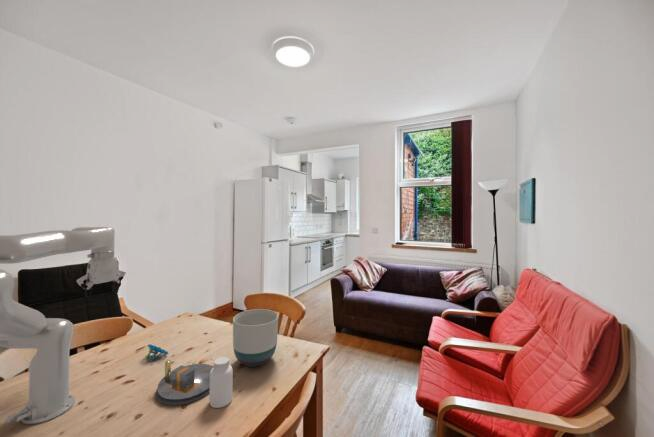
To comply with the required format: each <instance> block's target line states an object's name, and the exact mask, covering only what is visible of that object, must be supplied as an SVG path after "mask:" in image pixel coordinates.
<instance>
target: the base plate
mask: <svg viewBox="0 0 654 437" xmlns="http://www.w3.org/2000/svg"><path fill="white" fill-rule="evenodd" d="M209 391H210V389H209V390H207V391H206V392H204V393H203V394H201V395H198V396H196V397H194V398H191V399H187V400H182V401H167V400H164V399H162V398H161V397H160V396H159V395H158V387H157V388H156V391H155V398H156V400H157V402H158V403H159V404H161V405H164V406H168V407H169V406H170V407H179V406H185V405H189V404H192V403H195V402H197V401H200V400H202V399H203V398H205V397H207V396H208V395H209Z"/></svg>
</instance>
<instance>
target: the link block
mask: <svg viewBox="0 0 654 437" xmlns="http://www.w3.org/2000/svg"><path fill="white" fill-rule="evenodd" d="M186 366H187V365H183V364H182V365H180V366H178V367H176V368H174V369H173V370H171V372H172V386H173V387H175V388H177V389H180V390H183V391H186V390H188V389H189V388H191V387H192V386H194V369H191V368H189V367H186Z"/></svg>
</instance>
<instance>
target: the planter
mask: <svg viewBox="0 0 654 437" xmlns="http://www.w3.org/2000/svg"><path fill="white" fill-rule="evenodd" d="M232 318H233V319H232V344H233V345H232V346H233V353H234V357H235V358H236V360H237V361H238V362H240V364H242V365H244V366H246V367H250V368H251V367H259V366H263V365H264V364H265V363H267V362H269V361H270V359H271V358H273V356H274V355H275V353H276V349H277V346H278V333H279V314H278V312H276V311H274V310H271V309H265V308H255V309H249V310H244V311H241V312H239V313H237V314H236V315H234V316H233V317H232Z"/></svg>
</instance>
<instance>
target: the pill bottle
mask: <svg viewBox="0 0 654 437" xmlns="http://www.w3.org/2000/svg"><path fill="white" fill-rule="evenodd" d="M233 370H234V369H233V367H232V365H231V364H230V358H228V357H226V356H220V357H218V358H216V359H215V360H214V361H213V368H212V370H211V371H210V391H209V394H208V395H209V396H208V397H209V398H208V400H209V401H208V402H209V405H210V406H211V408H215V409H220V408H223V407H226V406H228V405H229V404H230V403H231V402H232V400H233V386H234V385H233V382H234V381H233V380H234V379H233V377H234V376H233V374H234V373H233V372H234V371H233Z"/></svg>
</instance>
